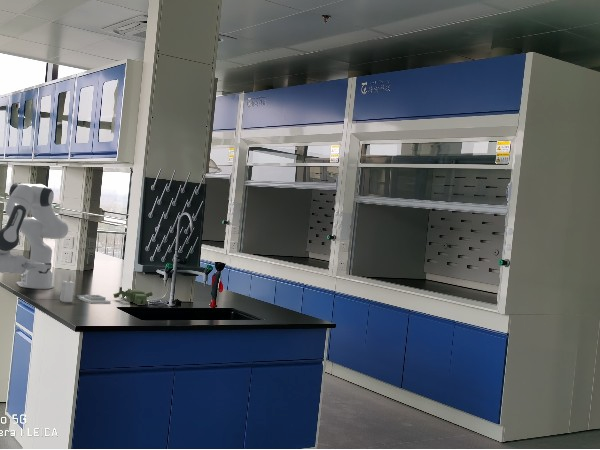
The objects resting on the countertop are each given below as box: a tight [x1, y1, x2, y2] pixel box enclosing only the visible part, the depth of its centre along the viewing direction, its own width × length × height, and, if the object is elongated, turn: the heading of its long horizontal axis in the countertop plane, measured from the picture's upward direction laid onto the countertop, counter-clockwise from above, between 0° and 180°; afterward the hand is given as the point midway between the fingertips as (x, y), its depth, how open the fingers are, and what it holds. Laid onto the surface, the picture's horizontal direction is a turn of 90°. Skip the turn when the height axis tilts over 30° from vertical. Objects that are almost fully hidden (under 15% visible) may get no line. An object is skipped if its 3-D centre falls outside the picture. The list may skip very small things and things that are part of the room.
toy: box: [113, 286, 153, 305], centre depth 372 cm, size 21×8×30 cm
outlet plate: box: [78, 294, 111, 304], centre depth 358 cm, size 14×11×3 cm
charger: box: [59, 280, 75, 303], centre depth 347 cm, size 4×4×10 cm
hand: (46, 265), depth 338 cm, fingers open, 8 cm apart
